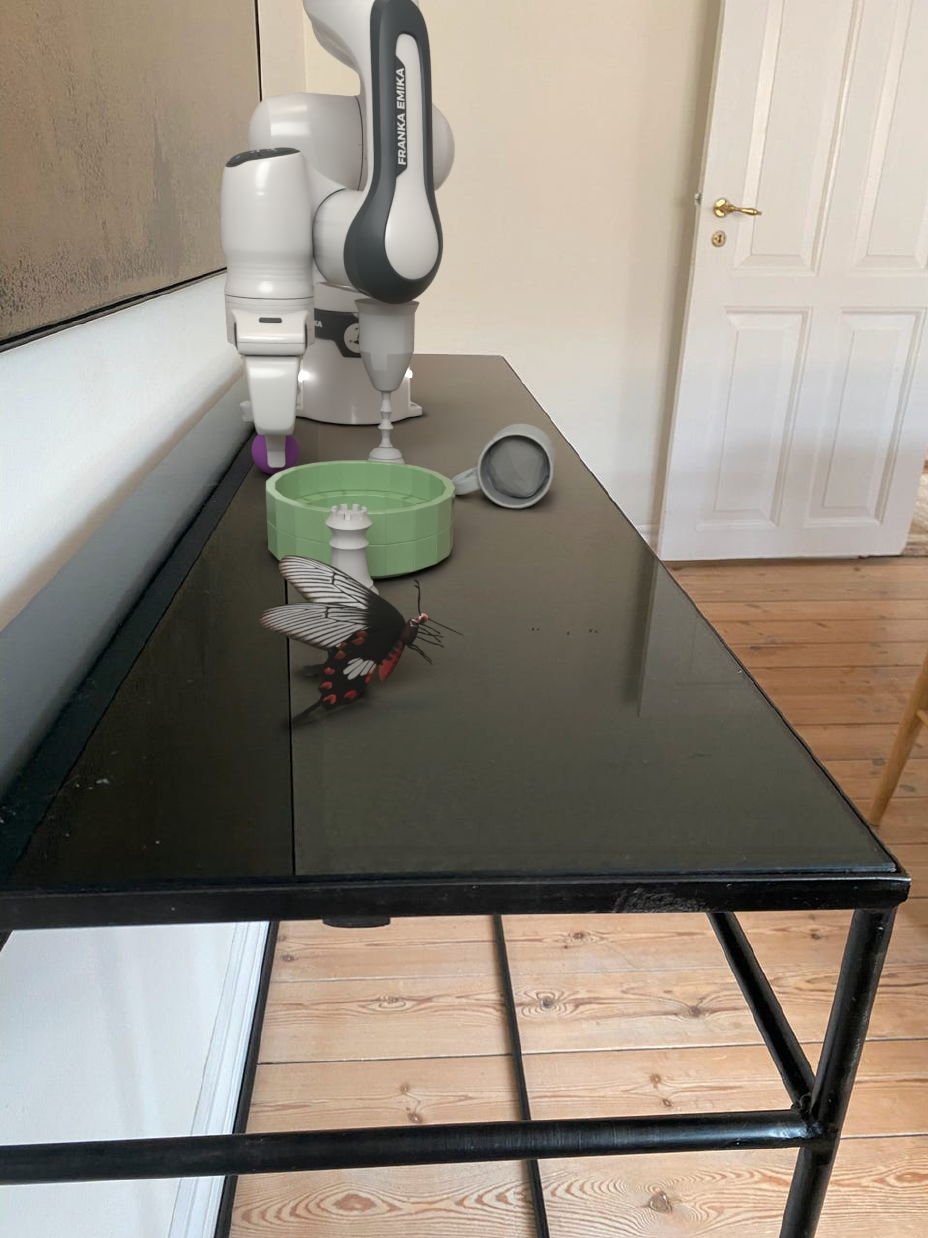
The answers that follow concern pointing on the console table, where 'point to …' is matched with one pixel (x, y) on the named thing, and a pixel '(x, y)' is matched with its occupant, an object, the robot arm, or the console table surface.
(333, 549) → the rook chess piece
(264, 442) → the ball
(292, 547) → the bowl
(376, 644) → the butterfly
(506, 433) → the ceramic mug
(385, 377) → the chalice
